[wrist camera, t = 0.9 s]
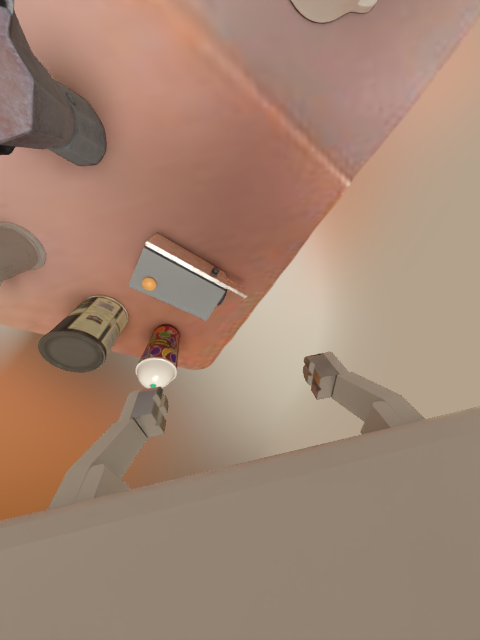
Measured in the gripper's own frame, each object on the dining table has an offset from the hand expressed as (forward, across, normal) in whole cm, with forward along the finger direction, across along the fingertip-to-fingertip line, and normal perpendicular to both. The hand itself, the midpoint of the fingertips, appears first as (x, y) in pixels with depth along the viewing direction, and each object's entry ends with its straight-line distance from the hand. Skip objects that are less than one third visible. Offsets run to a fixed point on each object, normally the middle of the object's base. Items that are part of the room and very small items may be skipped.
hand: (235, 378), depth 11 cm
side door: (+37, +2, +2) cm, 37 cm away
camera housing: (+37, +8, +5) cm, 38 cm away
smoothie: (+38, +16, +21) cm, 46 cm away
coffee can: (+38, +28, +12) cm, 49 cm away
